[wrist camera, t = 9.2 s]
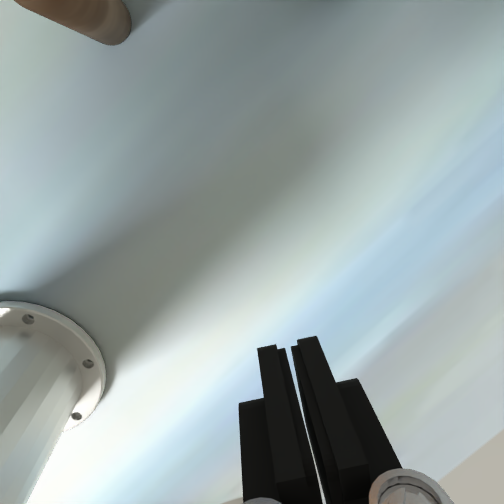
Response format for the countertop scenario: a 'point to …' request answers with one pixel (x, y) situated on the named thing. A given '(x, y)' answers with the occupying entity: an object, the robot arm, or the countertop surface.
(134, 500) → the countertop surface
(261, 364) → the robot arm
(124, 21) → the post
